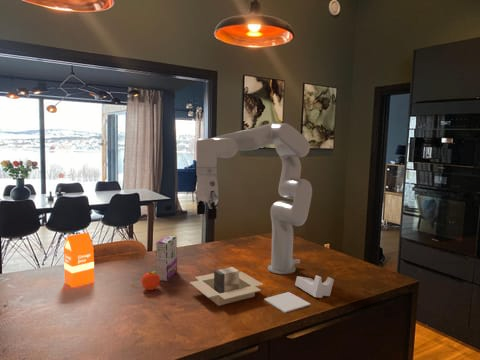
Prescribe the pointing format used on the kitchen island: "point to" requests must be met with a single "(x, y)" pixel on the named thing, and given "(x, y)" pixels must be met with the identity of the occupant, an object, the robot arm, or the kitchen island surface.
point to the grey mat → (287, 302)
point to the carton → (246, 291)
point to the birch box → (226, 280)
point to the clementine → (151, 280)
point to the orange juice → (79, 260)
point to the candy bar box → (166, 257)
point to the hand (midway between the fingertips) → (206, 216)
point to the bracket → (315, 286)
